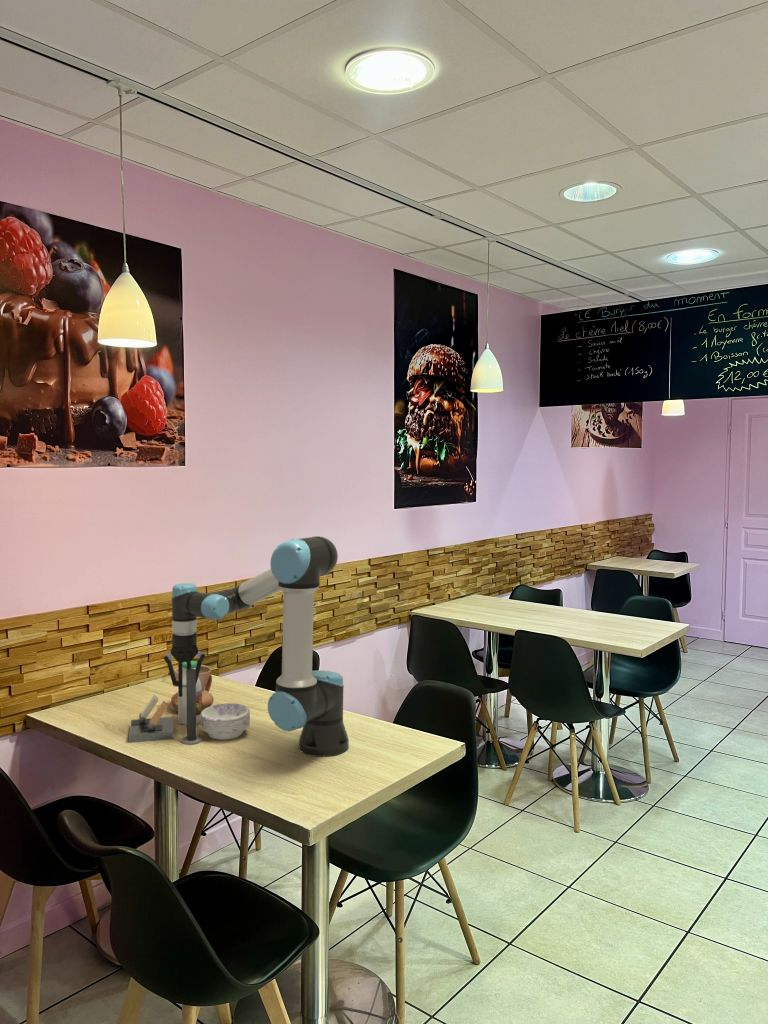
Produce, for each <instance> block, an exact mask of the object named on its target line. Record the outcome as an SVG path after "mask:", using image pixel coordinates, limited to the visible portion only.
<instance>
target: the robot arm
mask: <svg viewBox="0 0 768 1024" xmlns="http://www.w3.org/2000/svg"><path fill="white" fill-rule="evenodd" d="M338 557H339V555H338V549H337V547H336V546H335V544H334V543H333V542H332V541H331V540H330V539H328V538H326V537H324V536H318V535H317V536H310V537H303V538H292V539H289V540H286V541H283V542H281V543H279V544H278V545H277V546H276V547H275V549H274V550H273V552H272V554H271V557H270V569H267V570H265V571H264V572H262V573H259V574H258V575H256V576H253V577H252V578H250V579H248V580H246V581H244V582H242V583H240V584H238V585H236V586H234V587H232V588H228V589H224V590H219V591H214V592H209V593H207V592H199V591H198V588H197V587H198V586H197V585H196V584H195V583H187V582H185V583H183V582H182V583H176V584H175V585H173V587H172V589H171V590H172V593H171V618H172V619H171V630H172V631H171V633H172V634H171V638H172V639H171V641H172V642H171V649H170V652H168V653H167V654H164V655H163V660H164V662H165V663H166V665H167V667H168V668H167V669H168V671H169V672H168V673H169V676H170V680H171V683H172V686H173V685H174V686H175V685H176V686H177V689H178V688H179V697H182V708H185V707H187V691H186V685H182V666H183V662H187V670H188V669H191V661H194V658H195V657H197V661H196V662H197V665H196V669H195V670H196V683H197V680H198V676H199V672H200V668H201V665H202V663H203V661H204V660H205V657H206V653H205V652H202V651H200V650H199V647H198V638H197V636H198V633H197V631H198V628H197V627H198V625H197V624H198V618H204V619H207V620H212V621H213V620H217V621H218V620H222V619H224V618H225V616H227V615H229V614H231V613H236V612H240V611H245V610H247V609H248V610H249V609H250V608H251V607H252V606H253V605H254V604H256V603H258V602H260V601H263V600H265V599H266V598H268V597H271V596H273V595H275V594H276V593H279V592H281V591H282V592H283V598H282V599H283V604H282V606H283V607H282V609H283V610H282V648H281V649H282V651H281V652H282V653H281V657H282V659H281V675H280V676H279V677H278V678H277V679H276V682H275V685H276V686H275V692H273V693H272V694H271V696H270V697H269V698H268V702H267V711H268V716H269V717H270V719H271V721H273V723H274V725H275V726H276V727H277V728H279V729H281V730H283V731H285V732H286V731H287V732H292V731H293V732H294V731H296V730H299V729H301V733H300V735H299V739H298V750H299V751H300V752H301V753H303V754H306V755H308V756H313V757H330V756H331V757H332V756H335V755H336V756H337V755H340V754H342V753H344V752H346V751H348V750H349V748H350V747H349V746H350V745H349V743H350V739H349V735H348V733H347V730H346V727H345V723H344V687H345V685H344V679H343V676H342V674H341V673H339V672H336V671H330V670H321V669H320V670H317V669H316V670H313V646H314V610H315V609H314V605H315V602H314V601H315V592H317V590H319V588H320V585H321V584H320V581H321V578H320V577H322V576H325V575H328V574H329V573H330V572H332V571H333V570H334V569H335V567H336V565H337V563H338ZM173 658H174V660H175V661H176V662H177V663H178V667H177V668H178V679H179V681H177V680H176V677H175V673H174V670H175V668H174V667H173V662H172V659H173ZM174 686H173V687H174Z"/></svg>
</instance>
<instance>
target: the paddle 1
mask: <svg viewBox="0 0 768 1024" xmlns="http://www.w3.org/2000/svg"><path fill="white" fill-rule="evenodd" d="M158 702H159V696H157V695H155V694H153V695H152V697H151V698H150V700H149V701H148V703H147V705H146V706H145V707H144V709H143V711H142V712H141V713H139V716H138V719H139V722H140V723H144V722H145V719H148V716H149V715H150V714H151V712H152V711H153V709H154V708H155V706H156V705H157V704H158Z"/></svg>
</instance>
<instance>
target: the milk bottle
mask: <svg viewBox="0 0 768 1024" xmlns="http://www.w3.org/2000/svg"><path fill="white" fill-rule="evenodd" d="M196 665H197V661H195V660H192V661H191V669H196ZM182 666H183V675H182V685H186V670H187V662H183V663H182ZM177 690H178V691H177V692H178V710H177V714H178V715H177V721H178V723H179V724H181V725H185V726H187V707H185V708H182V697H179V688H178V687H177ZM202 711H203V710H202V686H201V682H200V679H199V677H198V680H197V683H196V725H197V724H199V723H201V712H202Z"/></svg>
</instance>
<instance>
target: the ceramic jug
mask: <svg viewBox="0 0 768 1024" xmlns="http://www.w3.org/2000/svg"><path fill="white" fill-rule="evenodd" d="M211 672H212V668H211V667H210V666H208V665H205V664H201V668H200V672H199V676H198V677H199V679H200V682H201V686H202V711H203V710H204V709H205V708H207V707H210V706H213V703H214V701H215V699H214V696H213V694H212V693H210V690H211V686H212V682H213V675H212V674H211ZM174 673H175V677H176V680H177V681H179V679H178V667H176V668H174ZM182 675H183V665H182ZM172 686H173V687H174V688H175V687H177V688H178V686H176V685H175V686H174V685H173V684H172ZM170 705H171V706H172V708H173V709H175V710H176V711H178V691H177V692H176V693H175V694H173V695H172V697H171V699H170Z"/></svg>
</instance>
